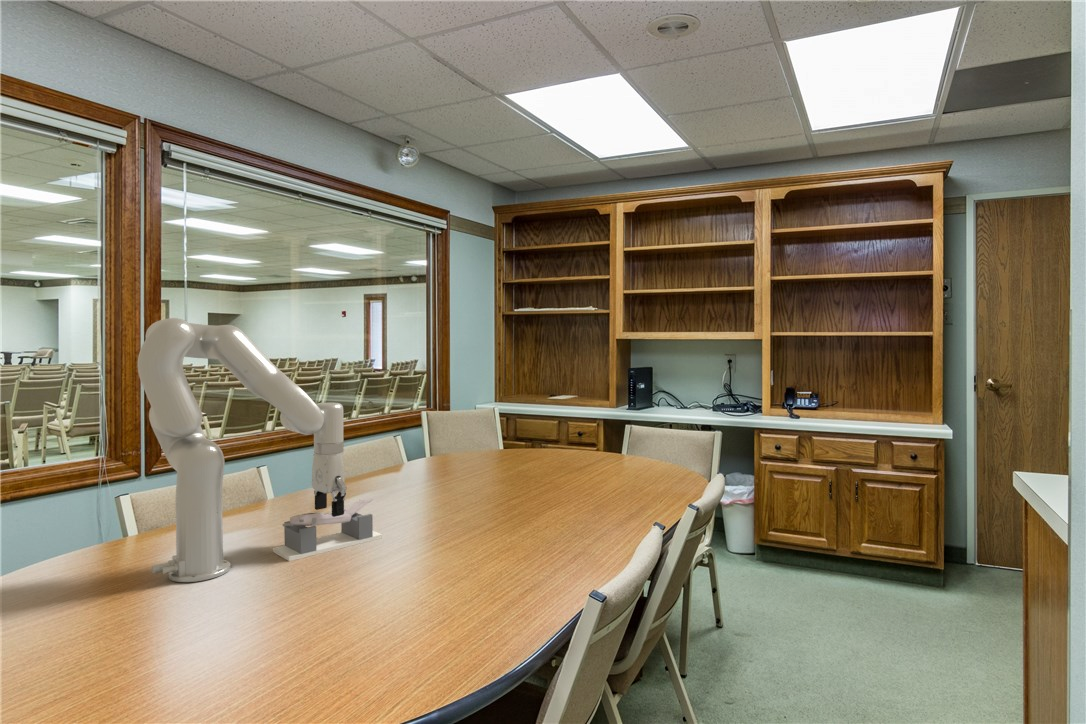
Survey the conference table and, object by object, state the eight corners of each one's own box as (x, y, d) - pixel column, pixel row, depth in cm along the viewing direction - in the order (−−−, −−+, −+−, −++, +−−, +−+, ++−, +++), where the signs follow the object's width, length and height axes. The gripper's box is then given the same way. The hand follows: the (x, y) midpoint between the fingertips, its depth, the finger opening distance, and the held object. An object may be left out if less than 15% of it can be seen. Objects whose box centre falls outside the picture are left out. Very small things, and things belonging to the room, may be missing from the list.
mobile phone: (374, 498, 173) (295, 503, 152) (374, 519, 171) (294, 527, 151) (360, 499, 176) (281, 504, 156) (360, 520, 175) (280, 528, 155)
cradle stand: (289, 561, 150) (289, 532, 150) (273, 551, 157) (272, 524, 157) (382, 538, 169) (382, 512, 169) (364, 530, 176) (363, 505, 176)
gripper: (301, 446, 166) (301, 508, 166) (330, 454, 154) (331, 521, 154) (327, 443, 171) (327, 503, 172) (357, 450, 159) (358, 515, 160)
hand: (329, 512), depth 163 cm, fingers open, 9 cm apart
